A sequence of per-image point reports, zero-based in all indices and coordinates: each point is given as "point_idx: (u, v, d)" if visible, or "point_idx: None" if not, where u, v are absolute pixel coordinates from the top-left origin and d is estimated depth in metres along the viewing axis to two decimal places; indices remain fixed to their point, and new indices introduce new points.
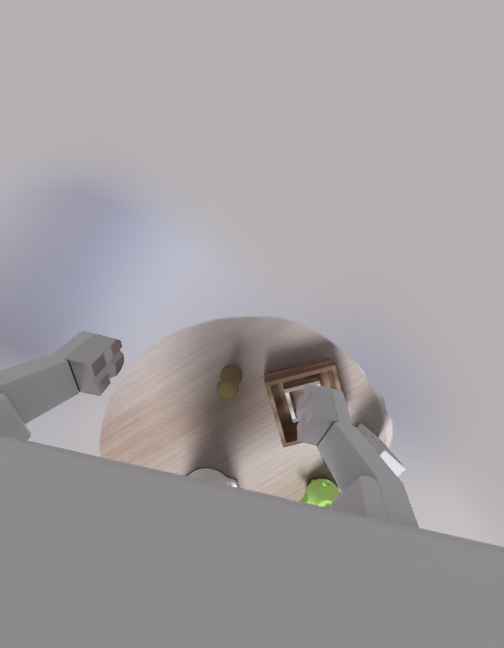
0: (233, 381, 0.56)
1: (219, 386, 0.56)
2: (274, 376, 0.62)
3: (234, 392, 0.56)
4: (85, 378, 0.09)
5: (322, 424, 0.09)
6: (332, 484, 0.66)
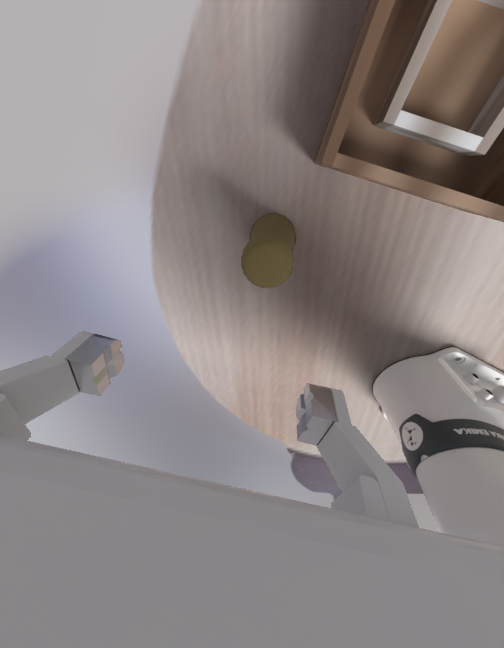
0: (257, 240, 0.22)
1: (248, 275, 0.23)
2: (329, 129, 0.21)
3: (279, 254, 0.22)
4: (85, 378, 0.09)
5: (322, 424, 0.09)
6: None
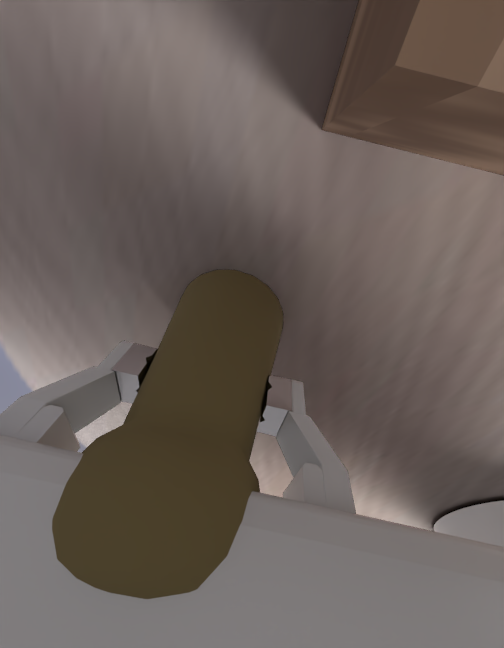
0: (60, 514, 0.04)
1: None
2: None
3: None
4: (129, 388, 0.09)
5: (277, 414, 0.09)
6: None
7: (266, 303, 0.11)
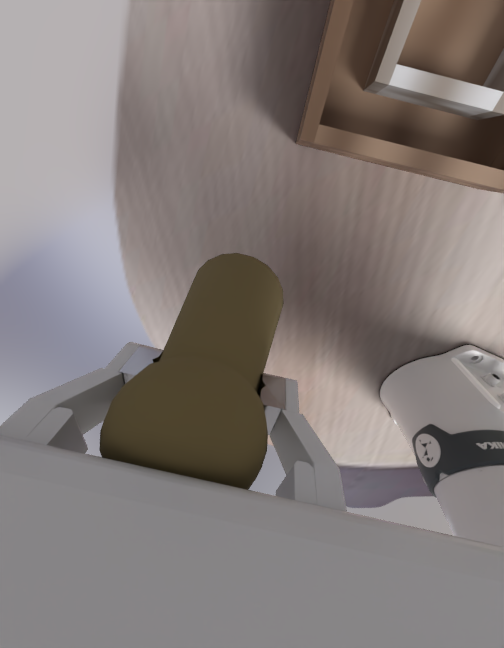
0: (122, 407, 0.06)
1: None
2: (308, 97, 0.17)
3: (202, 463, 0.06)
4: None
5: (271, 412, 0.09)
6: None
7: (266, 279, 0.13)
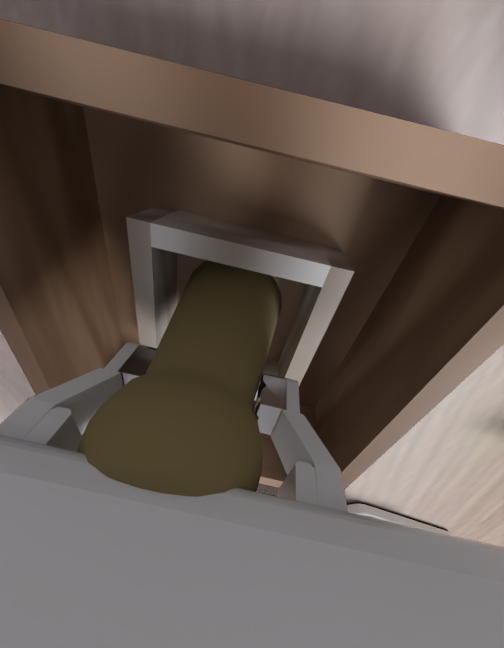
0: (97, 430, 0.05)
1: None
2: None
3: None
4: None
5: (271, 412, 0.09)
6: None
7: (263, 282, 0.12)
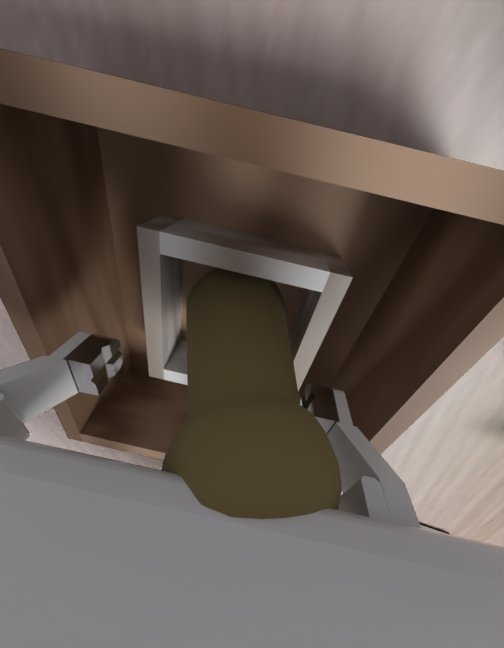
0: (197, 473, 0.05)
1: None
2: None
3: (305, 514, 0.05)
4: (84, 378, 0.09)
5: (324, 424, 0.09)
6: None
7: (271, 290, 0.13)
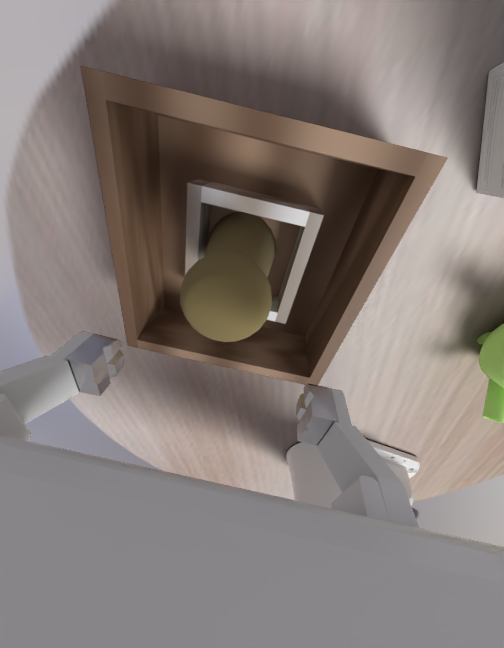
0: (197, 268, 0.12)
1: (196, 328, 0.13)
2: None
3: (241, 289, 0.12)
4: (85, 378, 0.09)
5: (322, 424, 0.09)
6: None
7: (264, 228, 0.19)
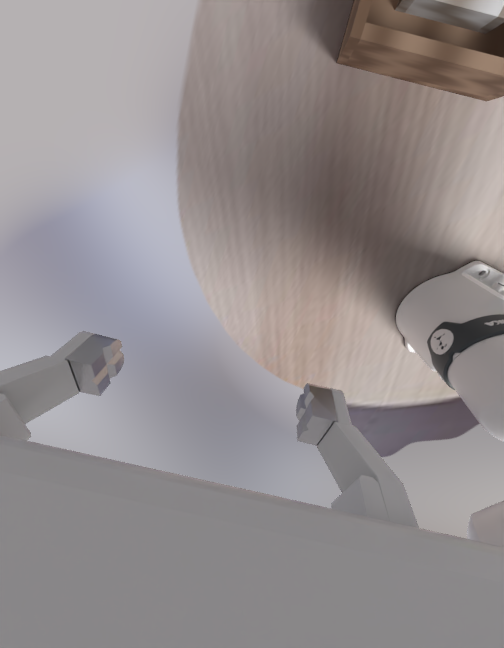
0: None
1: None
2: (354, 9, 0.22)
3: None
4: (85, 378, 0.09)
5: (322, 424, 0.09)
6: None
7: None
